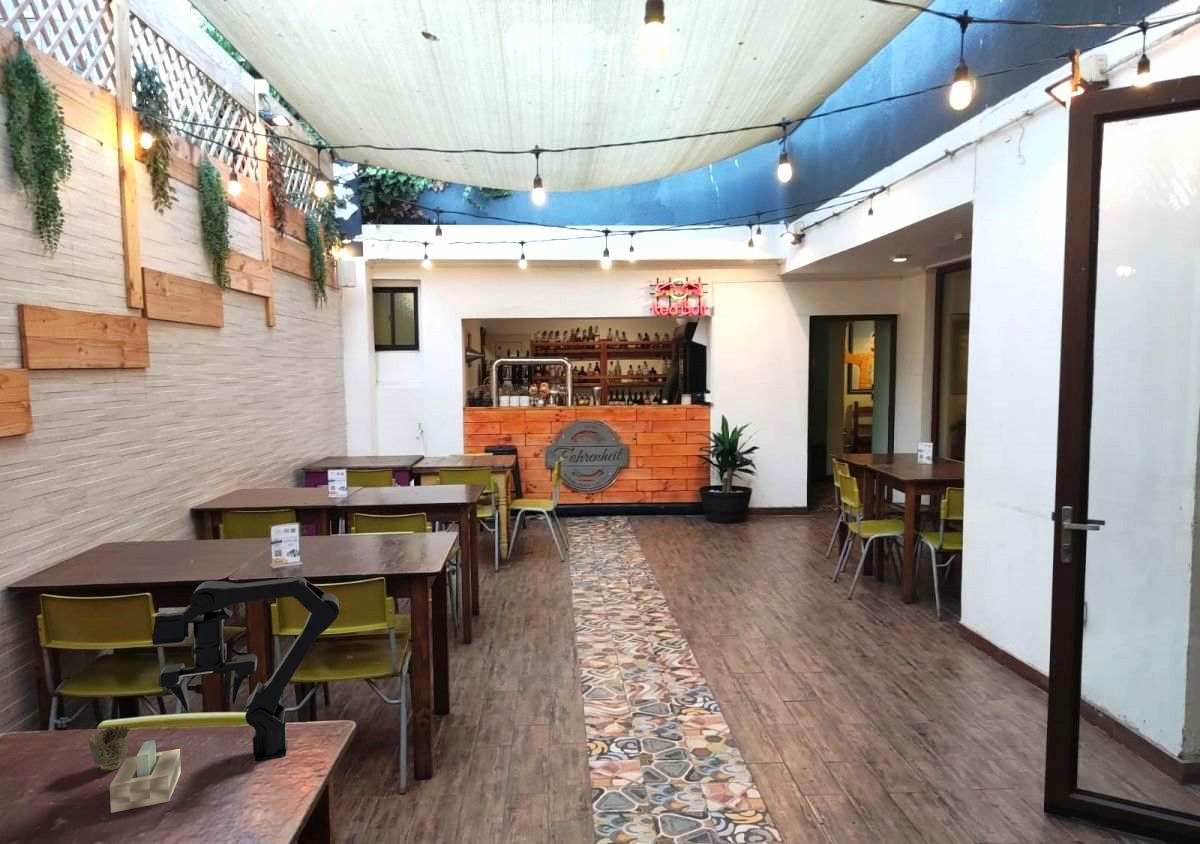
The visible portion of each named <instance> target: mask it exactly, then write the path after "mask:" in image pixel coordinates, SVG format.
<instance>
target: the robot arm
mask: <svg viewBox="0 0 1200 844" xmlns="http://www.w3.org/2000/svg"><path fill="white" fill-rule="evenodd" d="M283 598H284V599H286V598H294V599H295V600H296V601H298V602H299V603H300V605H302V606H303V608H305V609H306V610H307V611H308V614H307V618H306V620H305V624H304V625H303V627H302V629H301V631H300V632H299V634H298V636H297V637H296V638H295V640H294V641H293V643H292V645H291V646H290V648H289V649H288V651H287V653H286V654H285V655H284V657H283V659H282V660H281V662H280V663H279V664H278V666H277V667H276V669H275V670H274V673H272V675H271V677H270V678H269V679H268V680H267V681H266V682H264V683H262V682H260V681H258V682H257V685H256V686H255V689H254V691H252V693H251V694H249V695H248V699H247V702H246V705H245V710H246V712H245V721H246V723H247V725H249V726H250V727H252V728H253V730H255V731H254V732H253V734H252V735H253V736H252V752H253V754H252V755H254V761H255V762H256V761H262V760H263V761H264V760H267V759H273V758H279V757H284V756H286V755H287V751H288V746H289V745H288V744H289V741H288V739H287V735H288V734H287V720H285V713H286V707H285V706H284V705H283V704H281V703H280V701H281V698H282V695H283V692H284V690H285V688H286V687H287V686H288V684H289V683H290V681H291V679H292V678H293V676H294V674H295V673H296V671H297V670H298V668H299V667H300V665H301V664H302V662H303V661H304V659H305V657H306V656H307V654H308V653H309V651H310V650H311V648H312V646H313V645H314V644H315V642H316V640H317V639H318V638H319V636H321V635H322V634H323V633H325V632H326V630H328V628H329V627H330V626H331V625H332V624H333V623H334V622H335V621H336V619H338V616H339V613H340V608H339V607H340V601H339V598H338V597H337V596H336V595H335V594H334V593H330V592H325V591H324V590H323V589H322V588H320V587H318V586H316V585H315V584H313V583H311V582H309V581H308V580H307V579H306V578H304V577H303V576H299V575H298V576H294V577H289V578H281V579H279V578H278V579H271V580H260V581H253V582H251V581H250V582H242V583H235V582H230V581H223V580H221V581H219V580H208V581H204V582H202V583H201V584H199V585H198V586H197V587H196V589H195V590H194V592H193V593H192V595H191V597H190V599H189V601H190V603H189V604H188V605H187V607H186V608H185V609H184V611H182V612H181V611H180V612H171V613H164V612H163V613H157V614H156V615H155V616H154V624H153V630H152V634H151V639H152V640H151V641H152V646H154V647H161V646H167V645H177V644H184V643H185V642H186V640H187V639H188V638H191V636H192V630H193V643H192V648H191V657H192V658H194V666H193V667H186V666H185V663H175V664H169V665H168V664H167V665H165V666H164V668H163V669H162V670H161V672H160V674H159V675H158V687H159V688H164V687H165V690H167V691H169V690H171V692H172V693H173V694H174V695H175V696H176V697H177V698H178V700H179V703H180V704H181V705H182V707H183V708H184V710H185V711H186V712H189V710H190V698H189V692H188V686H187V678H189V677H196V676H204V675H212V674H218V673H224V672H225V673H226V672H231V671H232V672H233V671H234V674H235V675H234V677H233V685H232V695H231V696H232V697H231V698H232V700H231V701H232V704H233V705H235V703H236V702H237V698H238V694H239V691H240V688H241V686H242V683H243V681H244V680H245V679H249V677H250V675H254V674H255V673H256V670H257V666H258V656H257V655H256V654H255V653H251V654H250V653H249V654H243V655H242V654H241V655H237V658H236V661H228V662H225V661H227V650H228V649H227V648H228V646H227V645H228V643H225V642H224V624H223V622H224V620H230V618H231V617H232V615H233V611H232V610H230V609H228V607H230V606H233V605H237V604H242V603H243V604H244V603H250V602H258V601H266V600H268V601H269V600H276V599H283ZM201 614H202V615H201ZM192 624H193V625H192ZM192 628H193V629H192Z"/></svg>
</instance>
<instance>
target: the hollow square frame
mask: <svg viewBox="0 0 1200 844" xmlns="http://www.w3.org/2000/svg"><path fill="white" fill-rule="evenodd" d="M181 766H182V765H181V749H180V748H177V749H171V750H163V751H159V752H156V766H155V768H154V770H153V772H152V774H151V775H149V776H143V777H137V755H136V756H131V757H129V756H128V757H126V758H125V759H124V761H123V762H122V763H121V765H120V767H119V770H118V771H117V773H116V775H115V777H114V778H113V780H112V781H111V783H110V786H109V797H110V798H109V799H110V800H109V801H110V813H111V814H114V813H118V812H123V811H126V810H132V809H138V808H143V807H147V806H153V805H158V804H162V803H167V802H170V800H171V797H172V796H173V795H172V794H173V792H174V791H175V789H176V785H177V783H178V780H179V778H180V776H181V773H182V771H181V770H182V769H181V768H182V767H181Z"/></svg>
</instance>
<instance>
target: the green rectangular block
mask: <svg viewBox="0 0 1200 844" xmlns="http://www.w3.org/2000/svg"><path fill="white" fill-rule="evenodd" d="M156 745H157V743H156V739H152V740H146V741H144V742H143V744H142V745H141V747H140V749H139V751H138V753H137V754H136V756H137V777H143V776H149V775H151V774H152V772H153V770H154V768H155V766H156V753H157V747H156Z"/></svg>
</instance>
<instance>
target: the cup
mask: <svg viewBox="0 0 1200 844" xmlns="http://www.w3.org/2000/svg"><path fill="white" fill-rule="evenodd" d="M130 729H131V728H130V727H129V728H128V726H126V725H125V726H124V725H122V726H121V727H119V725H116V726H115V727H114V728H113V727H111V726H108V727H107V728H105V729H104V730H103V729H99V731H98V734H97V735H94V734H91V735H90V737H89V738H88V743H89V748H90V749H89V750H90V754H91V757H92V760H93V762H94V763H95V764H97V765H98V766H100V770H101V771H102V772H112V771H114V770H116V769H118V768H120V767H121V765H122V759H124V757H125V756H126V755H127V752H128V749H129V743H130V733H131V731H130Z"/></svg>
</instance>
